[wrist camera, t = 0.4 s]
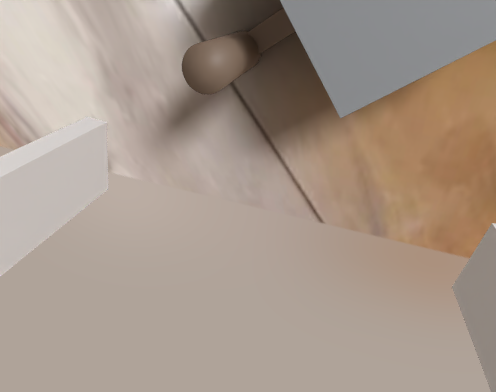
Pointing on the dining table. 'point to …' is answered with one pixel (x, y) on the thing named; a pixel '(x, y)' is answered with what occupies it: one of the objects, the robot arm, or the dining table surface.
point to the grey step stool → (386, 42)
